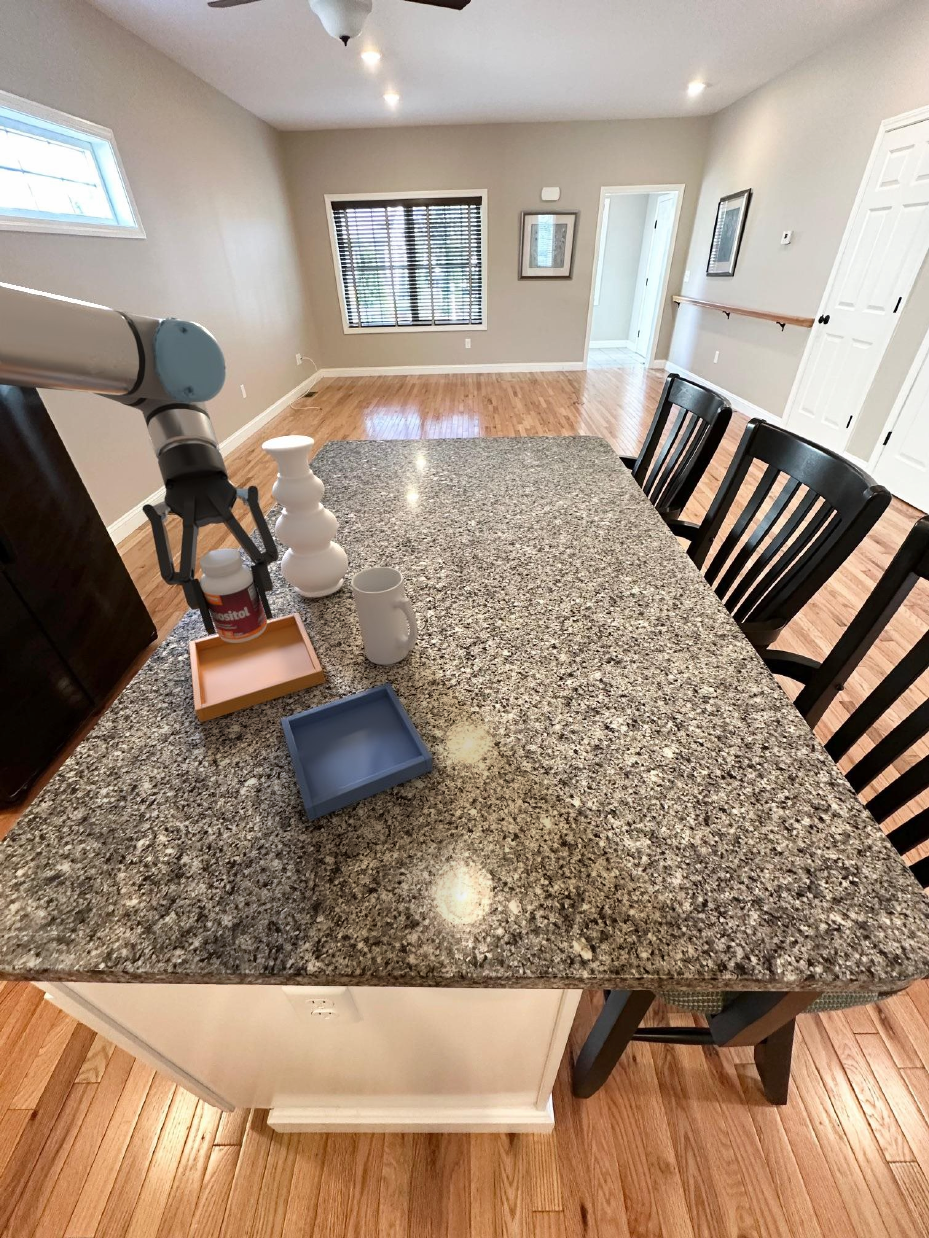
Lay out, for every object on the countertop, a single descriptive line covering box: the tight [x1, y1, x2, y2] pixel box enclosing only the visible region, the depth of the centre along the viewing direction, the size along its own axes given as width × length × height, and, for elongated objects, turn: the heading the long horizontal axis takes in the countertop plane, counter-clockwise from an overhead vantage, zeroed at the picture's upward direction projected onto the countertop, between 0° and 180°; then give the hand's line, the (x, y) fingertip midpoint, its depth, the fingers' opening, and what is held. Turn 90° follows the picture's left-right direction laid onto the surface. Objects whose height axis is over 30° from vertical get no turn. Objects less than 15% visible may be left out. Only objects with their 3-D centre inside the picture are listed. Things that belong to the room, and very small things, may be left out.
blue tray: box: [280, 682, 434, 822], centre depth 58 cm, size 14×14×2 cm
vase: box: [261, 435, 349, 598], centre depth 82 cm, size 11×11×25 cm
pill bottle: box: [198, 547, 268, 643], centre depth 65 cm, size 6×6×11 cm
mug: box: [350, 566, 419, 666], centre depth 69 cm, size 10×7×12 cm, turn 49°
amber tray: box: [188, 612, 326, 723], centre depth 71 cm, size 16×16×2 cm
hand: (240, 623), depth 63 cm, fingers closed on pill bottle, 6 cm apart
